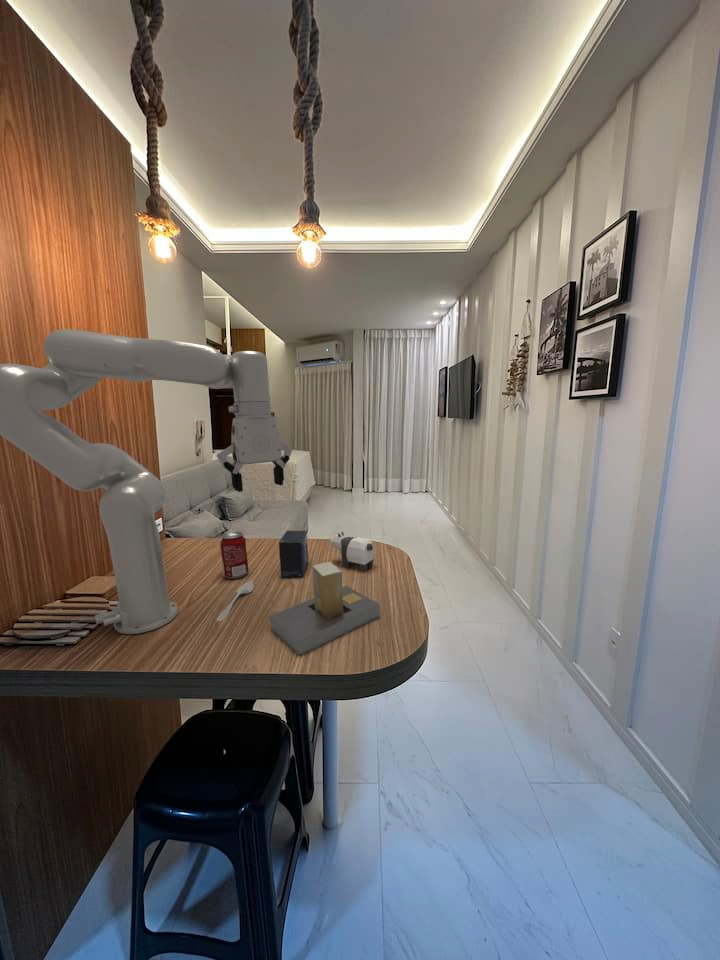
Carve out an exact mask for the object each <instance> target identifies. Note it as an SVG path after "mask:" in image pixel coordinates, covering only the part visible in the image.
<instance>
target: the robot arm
mask: <svg viewBox="0 0 720 960" xmlns="http://www.w3.org/2000/svg"><path fill="white" fill-rule="evenodd" d="M43 352H44V355H45V358H46V359H47V360H48V363H47V364H45V365H44V366H43V367H42V368H40V367H34V366H31V365H30V366H29V365H25V364H19V363H18V364H17V363H0V436H1V437H2V438H3V439H5V440H7V441H8V442H10V443H11V444H12V445H14V446H15V447H17V448H18V449H20V450H21V451H22V452H24V454H26V455H28V456H29V457H31V458H32V459H33V460H34V461H35V462H36V463H38V464H39V465H40V466H42V467H43V468H44V469H46V470H47V471H48V472H50V473H51V474H52V475H54V476H55V477H57V478H58V479H59V480H61V481H62V482H63V483H65V484H66V485H67V486H68V487H70V488H72V489H73V490H76V491H80V492H91V491H95V490H99V489H100V488H102V489H104V490H106V491H105V492H104V493H103V495H102V496H101V499H100V501H99V508H98V509H99V516H100V520H101V522H102V524H103V527H104V530H105V533H106V536H107V540H108V545H109V550H110V551H109V552H110V556H111V560H112V561H111V562H112V566H113V572H114V578H115V584H116V591H117V598H118V602H117V603H116V607H115V608H112V609H111V611H107V612H103V613H102V612H101V613H98V614H96V615H94V618H95V619H94V620H95V624H96V625H99V624H103V627H106V626H109V625H111V624H113V627H114V630H115V631H116V632H117V633H120V634H124V635H133V634H135V635H136V634H137V635H139V634H141V633H146V632H149V631H154V630H157V629H159V628H161V627H163V626H165V625H167V624H168V623H170V622H172V620H173V619H175V618H176V616H177V615H178V613H179V608H178V607H179V606H178V604H177V603H176V602H174V601H171V600H170V598H169V597H170V596H169V590H168V589H169V588H168V582H167V574H166V568H165V561H164V553H163V547H162V542H161V541H162V539H161V536H160V531H159V528H158V526H157V525H158V524H157V523H156V519H155V513H156V512H158V511H159V510H161V508H162V507H163V506H164V504H165V502H166V498H167V491H166V487H165V486H164V483H162V482H161V480H160V479H159V478H158V477H156V475H155V474H153V473H152V472H151V471H149V470H148V469H147V468H146V467H144V466H143V465H142V464H140V463H139V462H138V461H136V459H134V458H133V457H132V456H131V455H129V453H127V452H125V450H123V449H121V448H119V447H117V446H115V445H114V444H110V443H104V442H96V443H95V442H94V443H90V442H88V441H87V440H85V439H83V438H82V437H81V436H79V435H78V434H77V433H75V432H74V431H72V430H71V429H70V428H69V427H68V426H67V425H66V424H64V423H62V422H61V421H59V420H58V419H56V418H54V417H52V416H51V415H49V414H48V413H46V412H45V411H52V410H53V411H55V410H58V409H61V408H64V407H65V406H67V405H69V404H70V403H72V402H73V401H75V400H76V399H78V398H79V397H80V396H82V395H83V394H84V393H86V392H88V390H90V389H91V388H93V387H94V386H95V385H97V384H98V383H99V382H101V381H102V380H103V379H110V380H112V379H113V380H120V381H127V382H128V381H129V382H136V383H137V382H139V383H146V382H149V381H166V382H178V383H185V384H192V385H193V384H194V385H201V386H205V387H207V388H210V389H215V390H219V389H224V388H231V387H232V390H233V399H234V403H233V405H229V406H228V412H229V413H233V414H234V416H235V417H234V418H232V424H231V437H230V438H231V440H230V441H231V444H230V445H229V446H227V447H226V448H224V449H223V450H221V451H220V452H218V453H216V458H217V459H218V461H219V462H220V464H221V466H222V467H223V468H224V469H225V470H227V471H228V472H229V473H230V475H231V486H232V488H233V489H234V491H236V492H239V493H242V492H243V490H244V488H243V477H242V473H240V471H241V469H242V467H243V466H244V465H252V464H253V465H254V464H255V465H256V464H261V463H262V464H263V463H272V464H273V465H274V466H273V469H272V470H273V481H274V484H275V485H278V486H283V485H284V481H285V477H284V476H285V473H284V469H285V467H286V464H287V463H288V462H289V460H290V456H291V455H292V452H293V448H292V447H291V446H289V445H287V444H284V443H283V442H281V436H280V432H279V426H278V423H277V422H278V421H277V420H276V417H275V416H272V410H271V409H272V408H271V395H270V393H271V392H270V379H269V369H268V358H267V356H266V355H265V354H264V353H263V352H260V351H254V350H242V351H236V352H233V353H232V354H231V355H228V354H223V353H222V352H221V351H219V349H216V348H215V347H212V346H208V345H205V344H199V343H191V342H183V341H177V340H168V339H167V340H166V339H154V338H139V337H130V336H123V335H117V334H116V335H115V334H108V333H100V332H94V331H88V330H79V329H71V328H63V329H56V330H54V331H52V332H50V333H48V334H47V336H46V337H45V339H44V341H43ZM282 451H283V452H282ZM230 455H232V460H233V461H232V463H230V461H228V459H227V457H228V456H230Z"/></svg>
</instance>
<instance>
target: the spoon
mask: <svg viewBox="0 0 720 960" xmlns="http://www.w3.org/2000/svg"><path fill="white" fill-rule="evenodd" d="M254 588H255V584H254V582H253V581H252V580H249V581H246V582H245V583H242V585H241V586H239V587H238V589H236V591H235V596H234V598H233V599H232V600H231V601H229V602H230V603H229V604H228V605H227V606H226V607H225V608H224V609H223V610H222V612H221V613H220V614H219V615H218V617H217V618H216V622H221V621H223V620H224V619H226V617H228V614H229V613H230V611H231V610H232V607H233V606H234V603H235V602H236V601H237V599H238V598H239V596H241V595H242V594H243V595H245V594H249V593H251V592H252V591H254ZM246 590H247V591H246ZM244 591H246V592H244Z"/></svg>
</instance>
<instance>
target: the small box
mask: <svg viewBox="0 0 720 960" xmlns="http://www.w3.org/2000/svg"><path fill="white" fill-rule="evenodd" d="M308 549H309V547H308V531H307V530H285V533H284V534H283V536H282V537H281V538H280V539H279V541H278V551H279V562H280V563H279V566H280V578H281V579H287V578H288V579H289V578H293V579H295V578H298V579H299V578H303V577H304V575H305V572H306V570H307V567H308V565H309V550H308Z"/></svg>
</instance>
